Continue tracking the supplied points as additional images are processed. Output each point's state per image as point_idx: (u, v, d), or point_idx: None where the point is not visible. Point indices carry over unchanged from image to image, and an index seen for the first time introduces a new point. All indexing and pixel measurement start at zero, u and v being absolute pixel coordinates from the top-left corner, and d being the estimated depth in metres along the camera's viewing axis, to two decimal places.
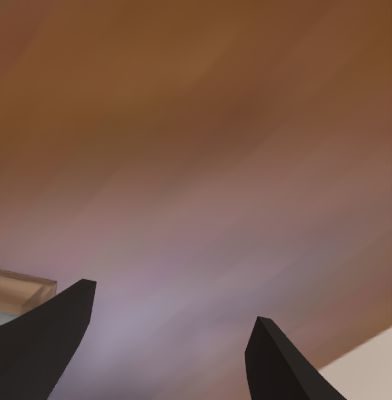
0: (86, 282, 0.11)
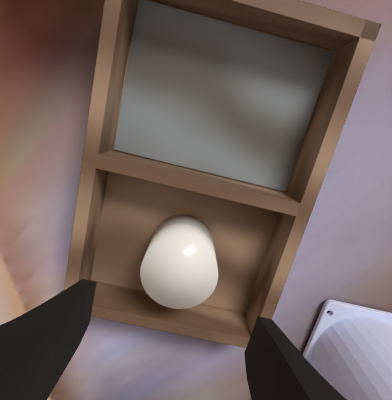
0: (86, 282, 0.11)
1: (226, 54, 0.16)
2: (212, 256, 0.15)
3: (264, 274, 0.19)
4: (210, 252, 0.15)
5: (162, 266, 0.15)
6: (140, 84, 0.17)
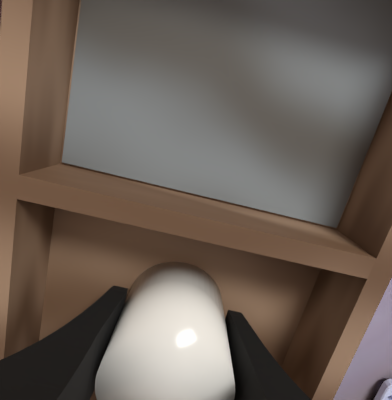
0: (119, 289, 0.11)
1: (247, 1, 0.10)
2: (225, 360, 0.08)
3: (300, 353, 0.12)
4: (221, 353, 0.08)
5: (134, 378, 0.08)
6: (102, 54, 0.10)
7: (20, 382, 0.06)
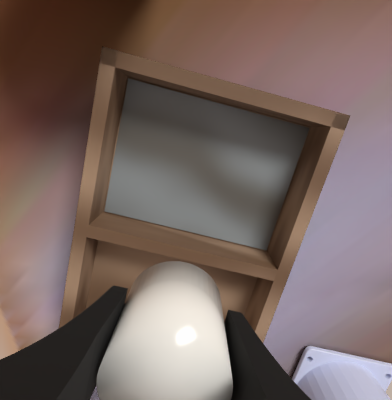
0: (119, 289, 0.11)
1: (210, 127, 0.18)
2: (223, 358, 0.09)
3: None
4: (219, 351, 0.09)
5: (135, 375, 0.09)
6: (129, 153, 0.18)
7: (19, 381, 0.06)
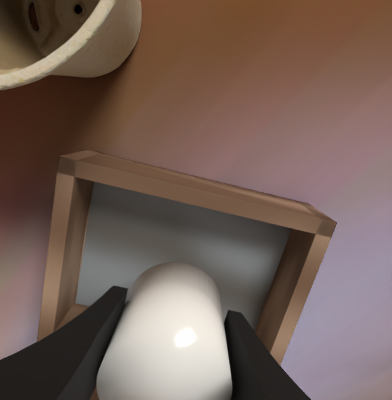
0: (119, 289, 0.11)
1: (187, 218, 0.16)
2: (222, 360, 0.09)
3: None
4: (219, 353, 0.09)
5: (135, 375, 0.09)
6: (100, 245, 0.17)
7: (20, 381, 0.06)
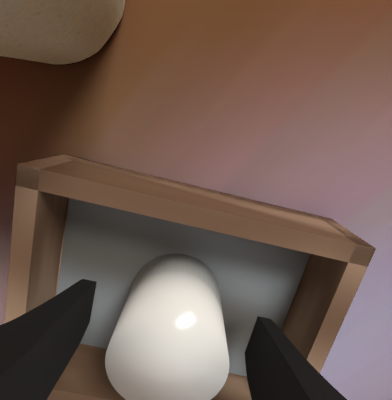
0: (86, 282, 0.11)
1: (185, 238, 0.13)
2: (220, 338, 0.09)
3: None
4: (217, 331, 0.09)
5: (140, 353, 0.10)
6: (80, 270, 0.14)
7: None
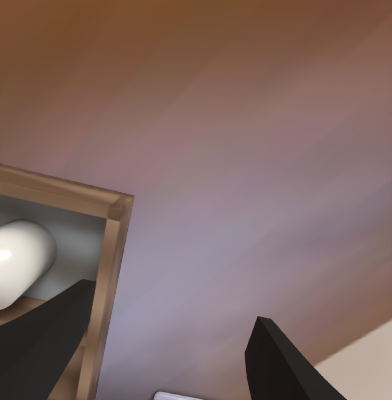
0: (86, 282, 0.11)
1: (28, 208, 0.20)
2: (12, 261, 0.16)
3: None
4: (10, 257, 0.16)
5: None
6: None
7: None
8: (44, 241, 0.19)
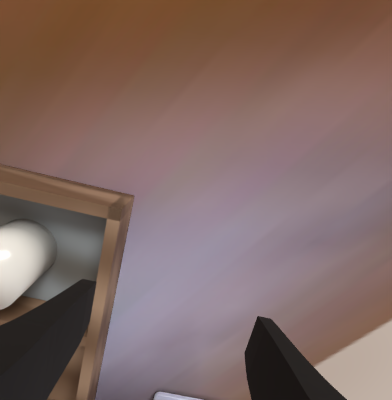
0: (86, 282, 0.11)
1: (28, 208, 0.20)
2: (12, 261, 0.16)
3: None
4: (10, 257, 0.16)
5: None
6: None
7: None
8: (44, 241, 0.19)
